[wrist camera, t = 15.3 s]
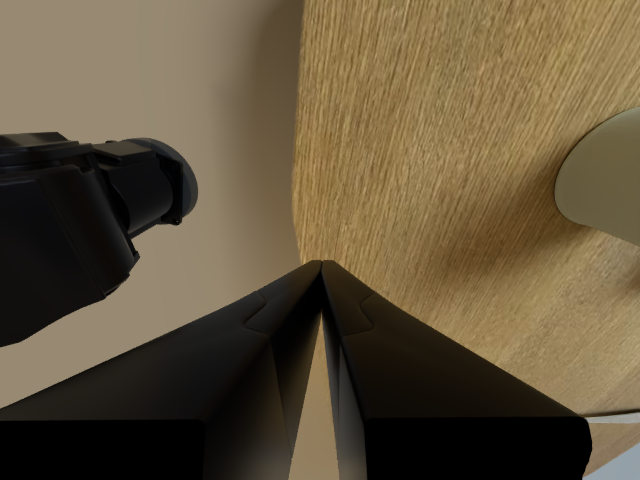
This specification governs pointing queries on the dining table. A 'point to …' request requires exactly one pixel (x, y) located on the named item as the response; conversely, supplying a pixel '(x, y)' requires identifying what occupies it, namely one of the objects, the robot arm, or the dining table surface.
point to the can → (605, 178)
